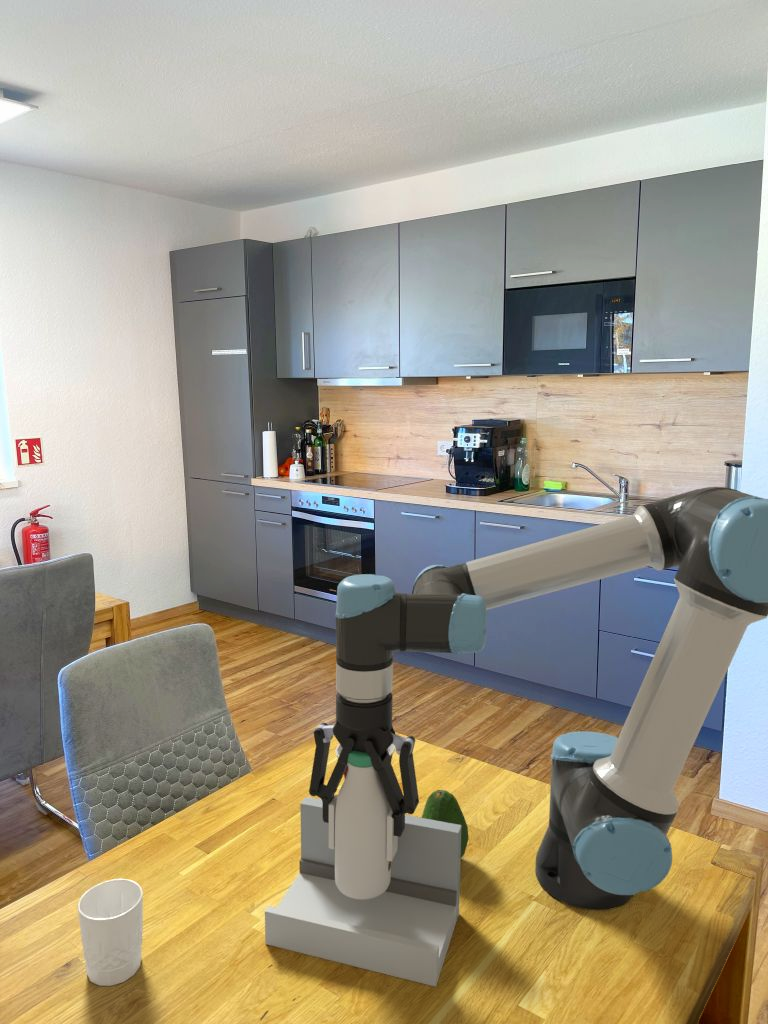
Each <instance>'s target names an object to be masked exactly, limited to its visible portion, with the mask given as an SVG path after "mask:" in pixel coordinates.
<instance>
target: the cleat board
mask: <svg viewBox="0 0 768 1024" xmlns="http://www.w3.org/2000/svg"><path fill="white" fill-rule="evenodd" d="M299 807H300V859H299V864H298V865H299V873H298V874H297V876H296V878H295V879H294V880H293V882H292V884H291V885H290V887H289V888H288V890H287V891H286V892H285V894H284V895H283V897H282V899H281V900H280V901H279V903H278V904H277V906H273V905H268V906H267V907H266V908H265V910H264V934H265V935H264V937H265V939H264V943H265V944H264V945H269V946H272V947H275V948H279V949H284V950H288V951H291V952H295V953H299V954H304V955H307V956H312V957H315V958H319V959H324V960H327V961H331V962H336V963H339V964H344V965H347V966H348V965H349V966H351V967H356V968H360V969H362V970H363V969H364V970H368V971H372V972H376V973H379V974H384V975H388V976H391V977H396V978H400V979H402V980H407V981H411V982H416V983H420V984H423V985H427V986H431V987H435V988H436V987H437V984H438V982H439V978H440V975H441V971H442V969H443V966H444V963H445V959H446V956H447V953H448V949H449V946H450V943H451V939H452V937H453V934H454V931H455V926H456V924H457V921H458V917H459V916H460V895H461V894H460V890H461V889H460V888H461V887H460V886H461V883H460V882H461V859H462V858H461V825H458V824H452V823H447V822H441V821H436V820H431V819H425V818H422V817H419V816H418V817H417V816H415V815H410V814H405V829H404V831H403V833H402V835H401V837H398V847H397V852H396V854H395V856H394V858H393V860H392V861H391V877H390V884H389V886H388V888H387V889H386V891H385V892H384V893H382V894H381V895H379V896H377V897H375V898H371V899H363V900H361V899H354V898H350V897H348V896H346V895H344V894H343V893H341V892H340V891H339V889H338V888H337V885H336V883H335V848H334V849H330V848H329V823H326V822H324V821H323V803H322V800H321V798H316V797H309V796H305V797H304V798H303V800H302V801H300V806H299ZM460 858H461V859H460Z"/></svg>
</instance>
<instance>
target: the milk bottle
mask: <svg viewBox="0 0 768 1024" xmlns="http://www.w3.org/2000/svg"><path fill="white" fill-rule="evenodd" d="M380 758H381V757H380ZM347 766H348V772H347V775H346V778H344V781H343V782H342V785H341V787H340V789H339V792H338V794H337V795H338V797H337V801H336V811H335V883H336V885H337V888H338V889H339V891H340V892H341V893H343V894H344V895H346V896H348V897H350V898H354V899H361V900H363V899H371V898H375V897H377V896H379V895H381V894H382V893H384V892H385V891H386V889H387V888H388V886H389V884H390V877H391V861H387V860H386V853H387V815H388V813H389V811H390V810H391V807H390V804H389V802H388V799H387V797H386V794H385V791H384V789H383V786H382V784H381V781H380V778H379V776H378V773H377V771H376V770H374V768H373V765H372V762H371V759H370V757H369V755H368V753H365V752H359V751H351V753H349V756H348V760H347Z"/></svg>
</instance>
